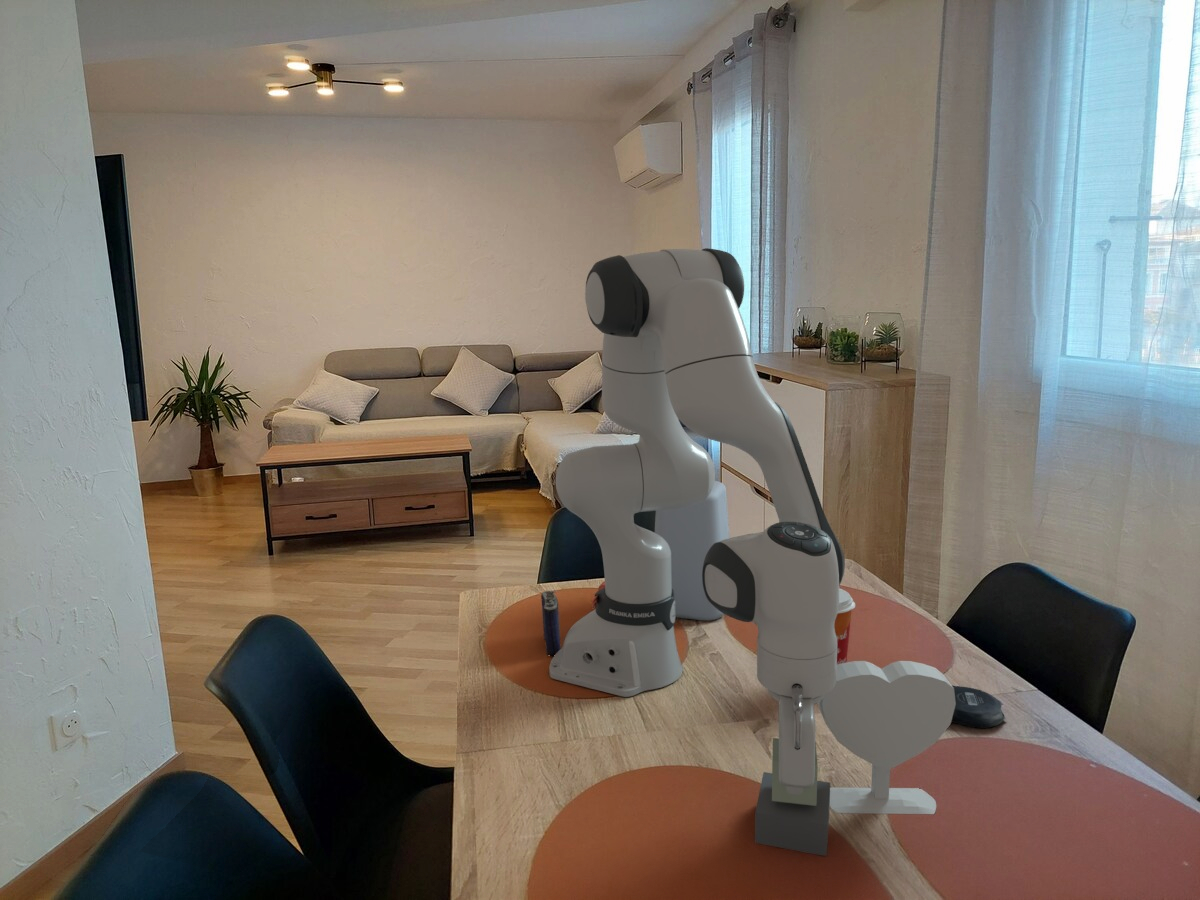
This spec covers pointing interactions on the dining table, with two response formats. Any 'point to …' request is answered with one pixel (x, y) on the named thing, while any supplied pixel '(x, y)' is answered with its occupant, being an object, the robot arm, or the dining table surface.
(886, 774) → the heart sculpture
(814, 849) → the charcoal block
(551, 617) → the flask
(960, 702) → the black rounded flattened block
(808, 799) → the green cube
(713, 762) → the dining table surface
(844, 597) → the coffee cup
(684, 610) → the grey-blue container
